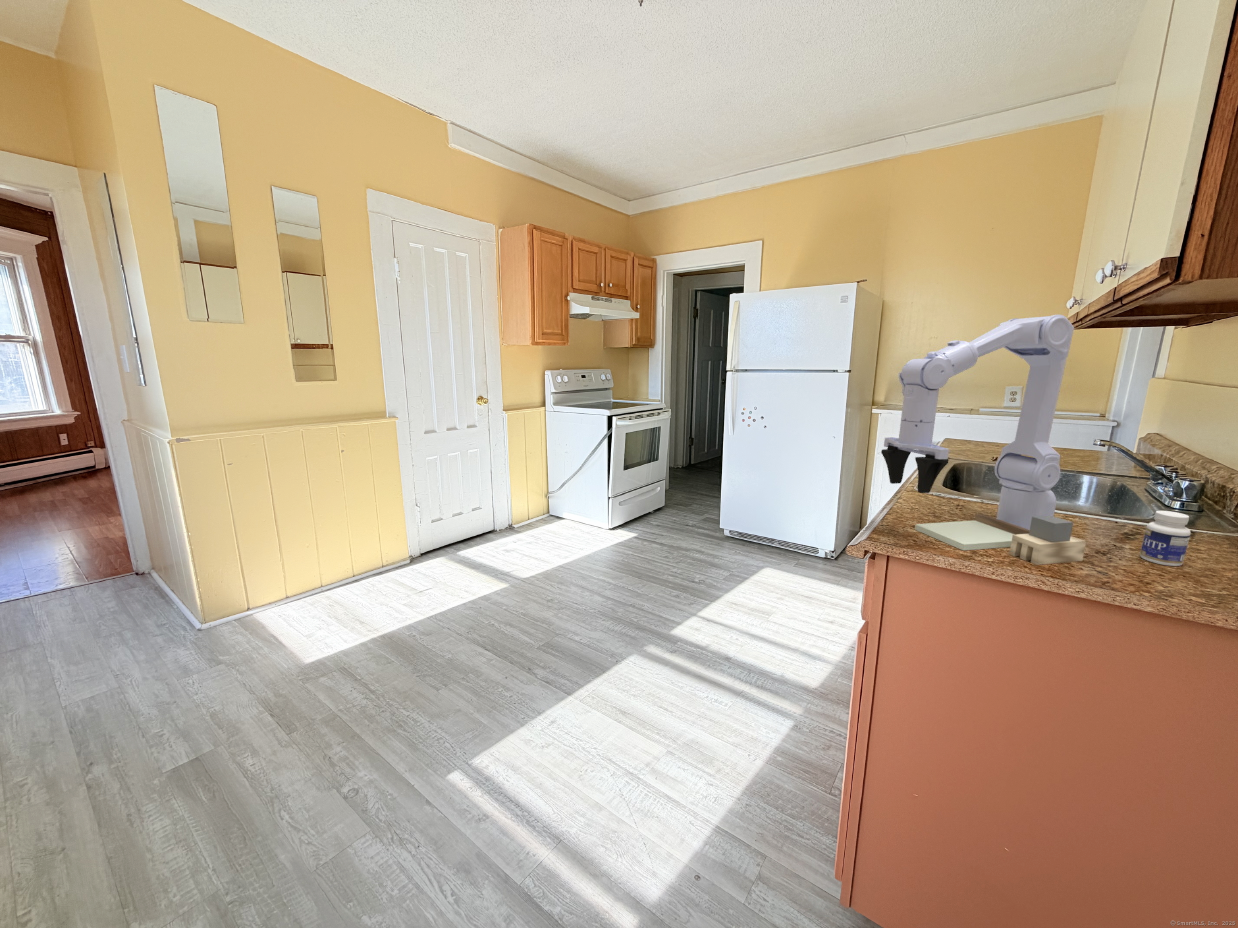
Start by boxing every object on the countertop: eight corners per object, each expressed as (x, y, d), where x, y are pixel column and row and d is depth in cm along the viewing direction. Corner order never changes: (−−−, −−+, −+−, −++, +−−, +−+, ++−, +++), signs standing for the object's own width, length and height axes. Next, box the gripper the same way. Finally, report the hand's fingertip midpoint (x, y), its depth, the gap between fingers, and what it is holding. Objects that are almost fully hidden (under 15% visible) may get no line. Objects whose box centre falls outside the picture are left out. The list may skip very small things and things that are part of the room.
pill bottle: (1130, 554, 91) (1141, 509, 89) (1160, 555, 90) (1171, 509, 89) (1161, 566, 85) (1172, 518, 84) (1192, 566, 85) (1204, 518, 83)
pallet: (1053, 551, 93) (1057, 531, 92) (1082, 561, 88) (1086, 540, 87) (1009, 555, 91) (1012, 534, 90) (1036, 565, 86) (1040, 544, 85)
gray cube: (1046, 533, 91) (1050, 515, 90) (1069, 540, 87) (1073, 522, 86) (1028, 534, 90) (1032, 516, 89) (1051, 542, 86) (1054, 523, 86)
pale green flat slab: (978, 525, 107) (980, 513, 106) (1033, 545, 95) (1035, 531, 95) (914, 529, 104) (916, 517, 104) (963, 550, 93) (965, 536, 92)
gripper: (874, 417, 102) (867, 480, 105) (929, 425, 88) (919, 498, 91) (903, 416, 103) (896, 478, 106) (962, 425, 89) (952, 496, 92)
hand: (909, 487), depth 99 cm, fingers open, 7 cm apart
